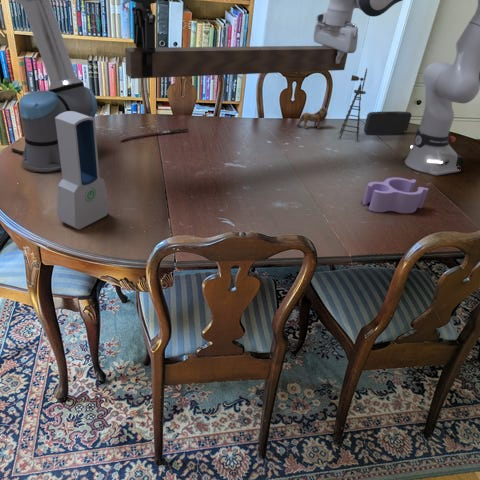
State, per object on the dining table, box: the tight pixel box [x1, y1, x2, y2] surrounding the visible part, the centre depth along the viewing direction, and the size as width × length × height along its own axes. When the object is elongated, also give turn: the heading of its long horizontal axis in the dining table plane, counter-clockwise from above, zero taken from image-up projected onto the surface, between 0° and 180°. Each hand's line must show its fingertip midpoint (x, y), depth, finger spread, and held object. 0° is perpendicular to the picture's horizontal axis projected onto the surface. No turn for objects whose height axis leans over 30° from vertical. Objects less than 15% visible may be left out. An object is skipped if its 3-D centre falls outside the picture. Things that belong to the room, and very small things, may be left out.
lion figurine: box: [296, 107, 328, 130], centre depth 215 cm, size 15×5×9 cm, turn 110°
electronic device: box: [55, 111, 110, 231], centre depth 124 cm, size 12×8×30 cm, turn 148°
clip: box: [362, 177, 429, 214], centre depth 156 cm, size 20×12×7 cm, turn 109°
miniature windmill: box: [339, 68, 368, 142], centre depth 203 cm, size 9×8×30 cm
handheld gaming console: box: [363, 110, 413, 135], centre depth 217 cm, size 23×3×10 cm, turn 108°
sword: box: [120, 128, 189, 142], centre depth 190 cm, size 31×3×1 cm, turn 126°
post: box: [124, 45, 349, 80], centre depth 153 cm, size 80×5×8 cm, turn 119°
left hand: (144, 73), depth 139 cm, fingers closed on post, 5 cm apart
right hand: (331, 60), depth 170 cm, fingers closed on post, 5 cm apart
